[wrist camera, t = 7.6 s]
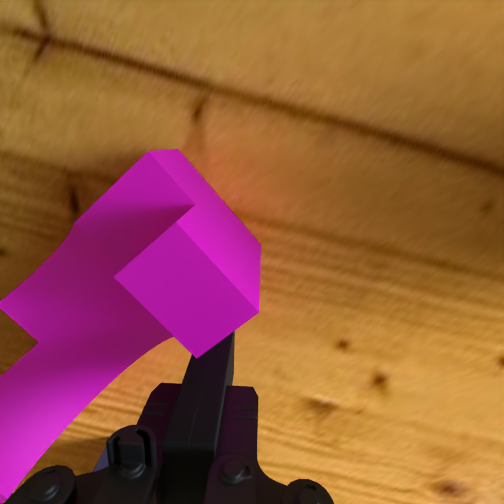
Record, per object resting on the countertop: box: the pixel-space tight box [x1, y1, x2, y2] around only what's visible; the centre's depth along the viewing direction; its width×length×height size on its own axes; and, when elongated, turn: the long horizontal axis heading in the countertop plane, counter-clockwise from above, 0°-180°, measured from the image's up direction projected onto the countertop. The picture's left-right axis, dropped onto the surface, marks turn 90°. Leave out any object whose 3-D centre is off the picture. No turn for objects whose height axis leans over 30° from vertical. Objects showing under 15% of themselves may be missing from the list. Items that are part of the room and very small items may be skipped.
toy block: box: [0, 149, 261, 504], centre depth 15 cm, size 15×6×8 cm, turn 130°
